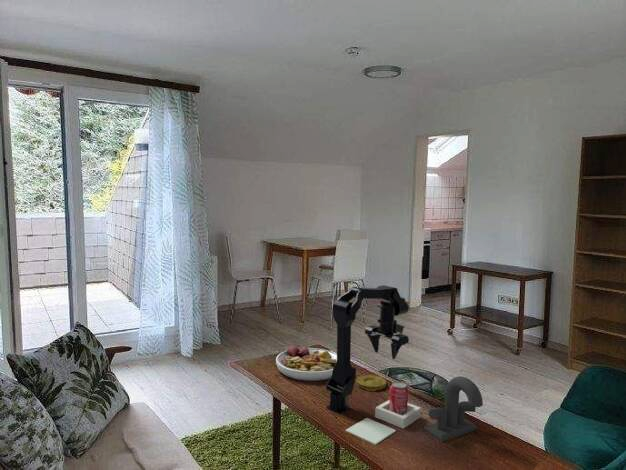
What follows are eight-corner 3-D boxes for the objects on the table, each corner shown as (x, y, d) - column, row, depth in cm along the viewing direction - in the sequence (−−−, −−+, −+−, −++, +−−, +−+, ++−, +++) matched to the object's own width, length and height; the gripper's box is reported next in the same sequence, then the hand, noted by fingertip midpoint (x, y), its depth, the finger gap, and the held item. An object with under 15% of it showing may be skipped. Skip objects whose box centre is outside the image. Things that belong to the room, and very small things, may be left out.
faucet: (458, 454, 144) (462, 391, 142) (421, 431, 158) (424, 373, 156) (496, 439, 154) (500, 380, 152) (458, 418, 167) (462, 364, 165)
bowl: (357, 371, 208) (358, 354, 208) (307, 390, 188) (308, 371, 187) (311, 353, 230) (311, 337, 229) (262, 368, 210) (262, 351, 209)
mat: (375, 444, 148) (375, 443, 148) (345, 431, 156) (345, 429, 156) (396, 431, 157) (396, 430, 157) (366, 418, 165) (366, 417, 165)
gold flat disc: (350, 384, 195) (350, 379, 195) (370, 377, 202) (370, 372, 202) (371, 394, 186) (371, 389, 185) (391, 387, 193) (391, 382, 193)
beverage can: (394, 411, 171) (395, 379, 170) (409, 416, 167) (411, 384, 166) (385, 417, 166) (387, 384, 165) (401, 423, 162) (402, 389, 161)
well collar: (403, 428, 159) (403, 418, 158) (375, 416, 166) (375, 407, 166) (420, 417, 167) (420, 407, 167) (392, 406, 175) (393, 397, 174)
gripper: (418, 320, 185) (416, 358, 186) (383, 309, 199) (381, 345, 201) (400, 324, 178) (397, 364, 179) (364, 313, 192) (363, 350, 194)
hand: (385, 355), depth 188 cm, fingers open, 9 cm apart
